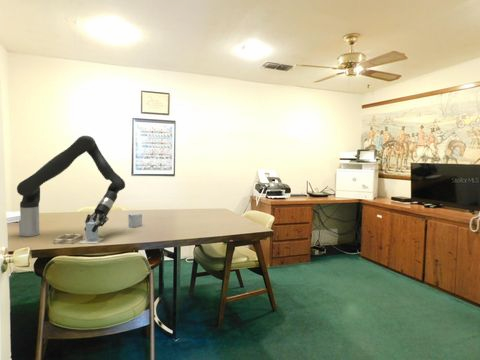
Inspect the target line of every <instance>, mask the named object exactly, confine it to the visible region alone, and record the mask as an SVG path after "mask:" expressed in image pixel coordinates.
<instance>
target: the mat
mask: <svg viewBox="0 0 480 360" xmlns="http://www.w3.org/2000/svg"><path fill="white" fill-rule="evenodd" d="M103 239H104V237H98V238H96V239H93V240H91V239H86V238H85V239H84V240H82V241H81V242H79V244H81V243H83V245H84V243H88V244H89V245H91V244H98V243H100V242H101V241H103Z"/></svg>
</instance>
